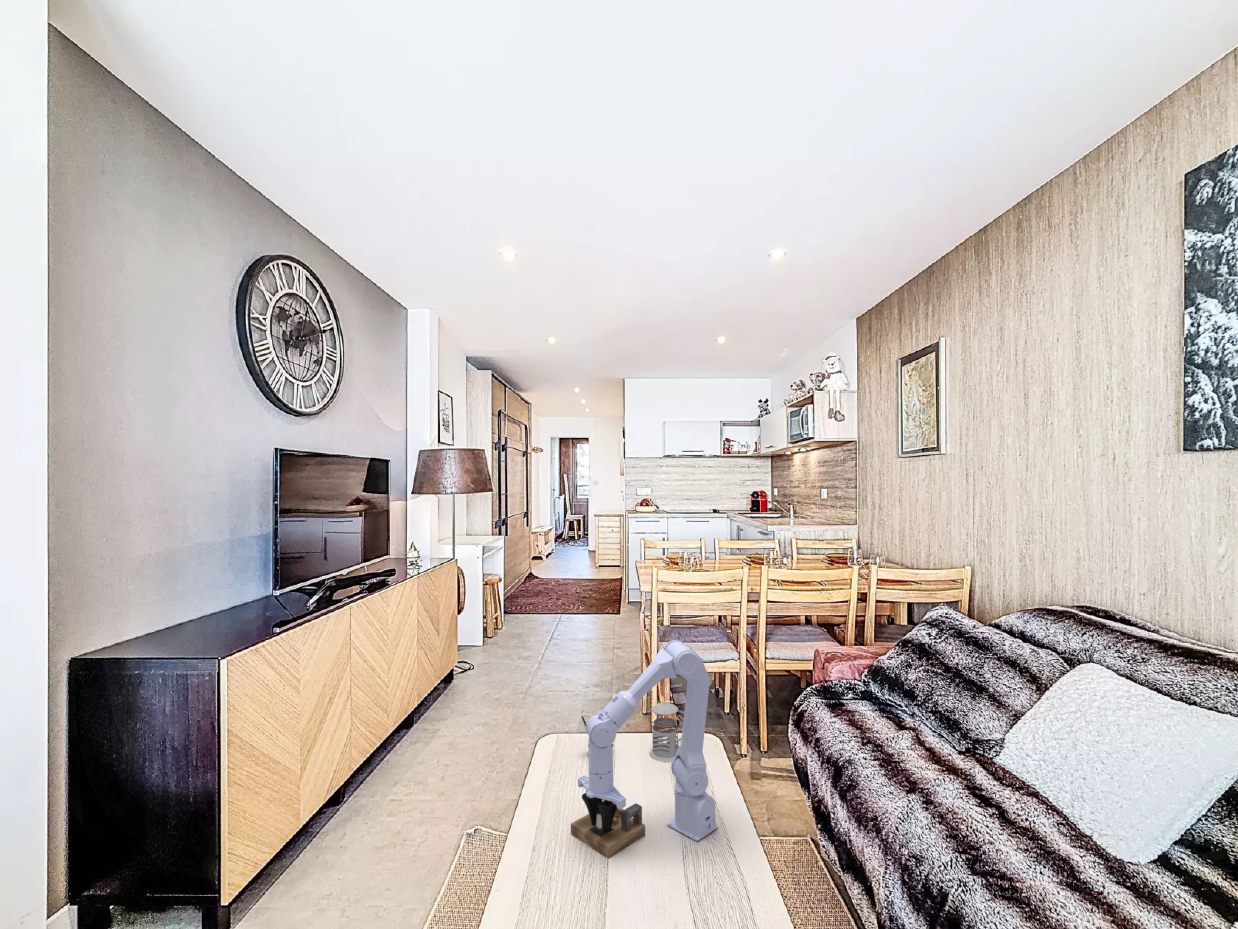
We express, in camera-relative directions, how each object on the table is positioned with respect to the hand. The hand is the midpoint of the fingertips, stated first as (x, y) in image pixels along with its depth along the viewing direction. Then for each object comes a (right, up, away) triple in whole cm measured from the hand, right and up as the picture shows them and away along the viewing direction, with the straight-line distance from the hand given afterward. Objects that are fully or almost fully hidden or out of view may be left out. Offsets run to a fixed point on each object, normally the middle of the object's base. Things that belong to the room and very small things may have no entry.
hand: (601, 826), depth 146 cm
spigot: (0, -3, 0) cm, 3 cm away
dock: (+2, -3, +2) cm, 4 cm away
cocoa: (-2, -3, +42) cm, 43 cm away
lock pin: (+1, -1, +8) cm, 8 cm away
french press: (+19, -3, +42) cm, 46 cm away
